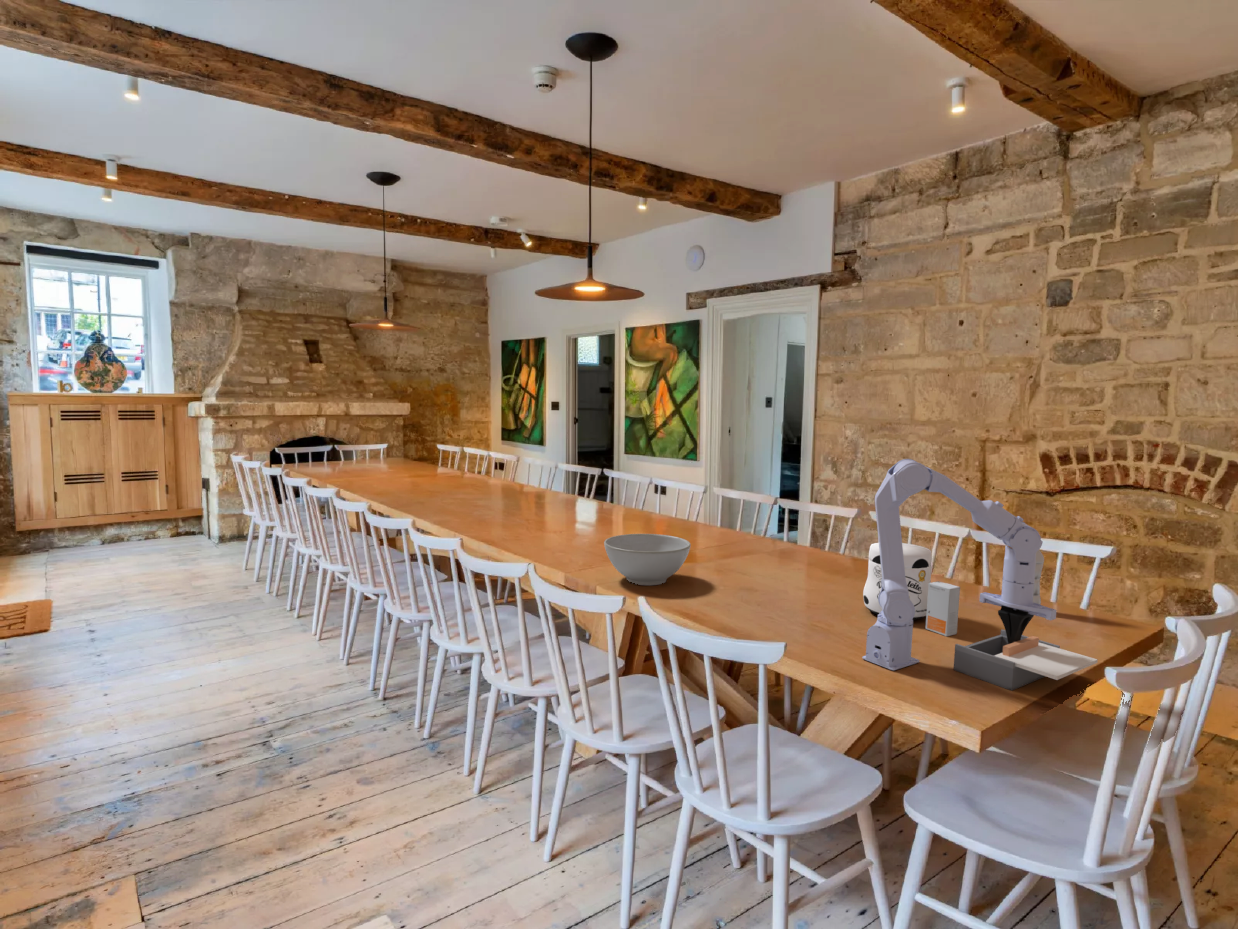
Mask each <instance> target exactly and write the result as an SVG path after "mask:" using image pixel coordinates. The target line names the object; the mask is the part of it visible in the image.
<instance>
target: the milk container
mask: <svg viewBox="0 0 1238 929" xmlns="http://www.w3.org/2000/svg"><path fill="white" fill-rule="evenodd" d="M902 546H903V557H904V567H905V578H906V583H907V587H908V593H909V598H910V600H911V602H912V603H913V605H914V607H915V615H914V617H913V619H912V620H913V621H914V620H920V619H922V620H923V618H926V614H927V600H928V586H929V583H932V582H931V580H932V578H931V577H932V568H933V566H932V562H933V556H932V555H933V554H932V550H931V549H930V548H927V547H925V546H922V545H917V544H913V543H905V542H902ZM867 566H868V567H867V568H868V569H867V577H866V581H865V583H864V584H865V585H864V587H863V591H862V597H863V603H864V606H865V607H866V609H868V610H869V611H870V612H872V613H873V614H876V615H877V616H878V615H879V613H880V612H881V611H882V607H881V606H880V604H879V601H878V596H879V593H880V591H881V579H882V571H881V561H880V550H879V542H874V543H871V544H870V546H869V549H868V565H867Z"/></svg>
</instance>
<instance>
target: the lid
mask: <svg viewBox="0 0 1238 929" xmlns="http://www.w3.org/2000/svg"><path fill="white" fill-rule="evenodd" d="M1027 637H1028V638H1025V639H1022V640H1019V641H1016V642H1014V643H1011V644H1008V645H1005V646H1003V653H1000V654H997V655H994V656H996V657H1000V658H1003V659H1006V660H1009V661H1012V662H1015V666H1016V667H1019V668H1022V669H1025V670H1028V671H1031V672H1034V673H1037V674H1040V675H1043V676H1046V677H1048V678H1050V679H1053V680H1056V681H1058V680H1060V679H1063V678H1065V677H1068V676H1070V675H1072V674H1075V673H1077V672H1078V671H1081V670H1084V669H1086V668H1089V667H1091V666H1093V665H1096V664H1098V659H1097V658H1094V657H1090V656H1087V655H1084V654H1080V653H1077V652H1073V651H1070V650H1066V649H1063V648H1061V647H1060V648H1056V647H1053V646H1050V645H1046V644H1043V643H1039V640H1040V637H1039V636H1035V635H1032V636H1027Z"/></svg>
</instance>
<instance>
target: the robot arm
mask: <svg viewBox="0 0 1238 929" xmlns="http://www.w3.org/2000/svg"><path fill="white" fill-rule="evenodd" d="M923 490H925V491H927V492H929V493H931V492H932V493H939V494H942V495H944V496H946V498H948V499H950V500H951V501H953V502H955V504H958V505H959V506H961V507H962V508H964V509H965V510H967V511H968V512H970V514H971V520H972V522H973V523H974V524H976V525H978V526H979V527H980V528H982V529H983V530H985V531H986V532H987V533H989V534H990V535H991V536H993V537H994V538H996V539H998V540H1001V541H1002V543H1003V544H1004V545H1005V547H1004V548H1005V550H1004V558H1003V570H1002V582H1001V594H995V593H991V592H990V593H989V592H980V593H979V603H982V604H985V603H986V604H991V605H994V606H998V607H1001V608H1000V609H999V610H997V615H998V616H999V618H1000V620H1001V622H1002V625H1003V627H1004V630H1005V631H1006V635H1007V640H1008V644H1011V643H1014V642H1016V641H1019V640H1020V639H1021V636H1022V635H1023V634H1024V631H1025V629H1026V628H1027V626H1028V624H1029V623H1030V621H1031V620H1032V619H1033V618H1034V616H1036V617H1038V618H1039V617H1040V618H1042V619H1043V618H1044V619H1045V620H1047V621H1054V620H1056V619H1057V618H1056V617H1057V609H1055V608H1051V607H1048V606H1045V605H1042V604H1037V603H1034V602H1033V593H1034V580H1035V567H1036V552H1037V551H1038V550H1040V549H1041V548H1042V546H1043V540H1042V538H1041V535H1040V533H1039V531H1038V530H1037V529H1036V528H1034V527H1032V526H1030V525H1028V524H1027V523H1026V522H1025V521H1024V518H1023V517H1022V516H1020V515H1017V516H1015V515H1014V514H1013V513H1011V512H1009V511H1008V510H1006V509H1005V508H1004V504H1003V503H1001V502H1000V501H998V500H997V501H993V500H992V499H988V500H981V499H979V498H978V497H976V496H975V495H973V494H972V493H971V492H969V491H968V490H966V489H965V488H963V487H962V486H961V485H959V484H958V483H956V482H955V481H954V480H952V479H951V478H949V477H948V476H947V475H945V474H944V473H940V472H939V471H937V470H934V469H932V468H930V467H928V466H926V465H925V464H923V463H921V462H918V461H917V460H914V459H911V458H903V459H900V460H898V461H897V462H896V463H895V464H894V465H892V466H891V467H890V468H889V469H888V470H887V471H886V475H885V477H884V479H883V480H882V482H881V484H880V485H879V488H878V490H877V491H876V493H875V496H874V507H875V509H874V510H875V516H876V517H875V518H876V526H877V527H876V529H877V538H878V543H879V550H880V561H881V571H882V579H881V591H880V593H879V596H878V601H879V604H880V606H881V607H882V611H881V612H880V613H879V615H878V614H877V618H876V622H875V623H874V624H873V625H872V626H870V627H869V628H868V630H867V632H866V644H865V649H866V650H865V655H863V656H862V657H861V658H862V660H865V661H867V662H870V663H873V664H876V665H878V666H880V667H883V668H886V669H888V670H890V671H896V670H900V669H902V668H905V667H908V666H912V665H915V664H918V663H920V659H918V658H916V657H913V656H912V644H913V630H914V620H912V619H913V617H914V615H915V607H914V605H913V603H912V602H911V600H910V598H909V593H908V587H907V583H906V578H905V567H904V557H903V546H902V543H903V538H902V529H901V517H900V515H901V514H900V506H901V505H902V504H904V503H905V501H906V500H908V499H909V498H910V497H911V496H913V495H916V494H917V493H920V492H922V491H923Z"/></svg>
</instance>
